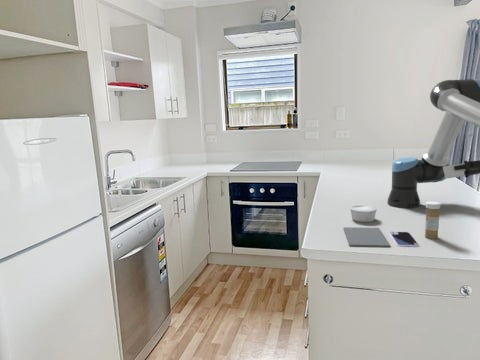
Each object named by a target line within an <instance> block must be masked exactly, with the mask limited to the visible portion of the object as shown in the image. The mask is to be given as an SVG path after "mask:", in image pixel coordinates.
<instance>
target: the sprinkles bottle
mask: <svg viewBox="0 0 480 360" xmlns="http://www.w3.org/2000/svg"><path fill="white" fill-rule="evenodd" d="M425 208H426V210H425V224H424V225H425V227H424V228H425V231H424V233H425V234H424V237H425V238H426V239H432V240H435V239H438V238H439V229H440V227H439V226H440V209H441V203H440V202H439V201H438V202H437V201H426V202H425Z"/></svg>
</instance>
